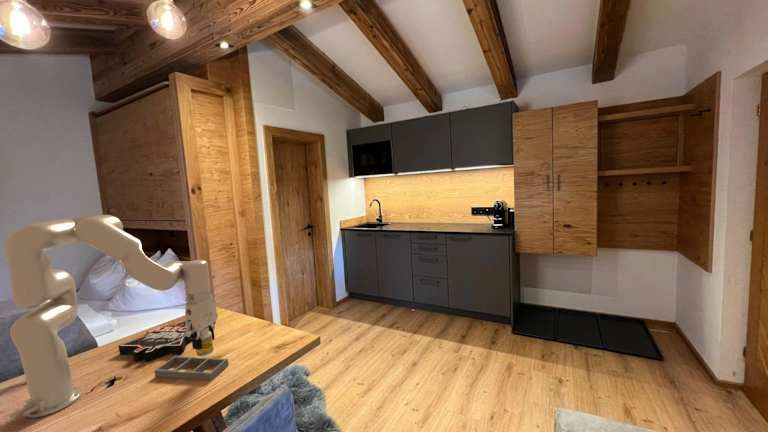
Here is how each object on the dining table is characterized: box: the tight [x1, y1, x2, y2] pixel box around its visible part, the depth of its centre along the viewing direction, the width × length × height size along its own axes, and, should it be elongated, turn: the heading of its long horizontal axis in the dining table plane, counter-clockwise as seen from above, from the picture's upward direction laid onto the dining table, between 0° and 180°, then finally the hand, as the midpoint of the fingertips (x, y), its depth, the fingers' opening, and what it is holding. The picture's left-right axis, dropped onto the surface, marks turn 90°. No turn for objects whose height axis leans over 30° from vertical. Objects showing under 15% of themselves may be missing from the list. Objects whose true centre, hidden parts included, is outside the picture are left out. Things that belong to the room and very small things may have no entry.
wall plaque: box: [118, 319, 196, 363], centre depth 137 cm, size 28×4×30 cm
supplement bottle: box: [195, 326, 214, 357], centre depth 111 cm, size 5×5×10 cm
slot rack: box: [153, 355, 230, 382], centre depth 114 cm, size 9×23×3 cm, turn 80°
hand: (204, 343), depth 111 cm, fingers closed on supplement bottle, 5 cm apart
